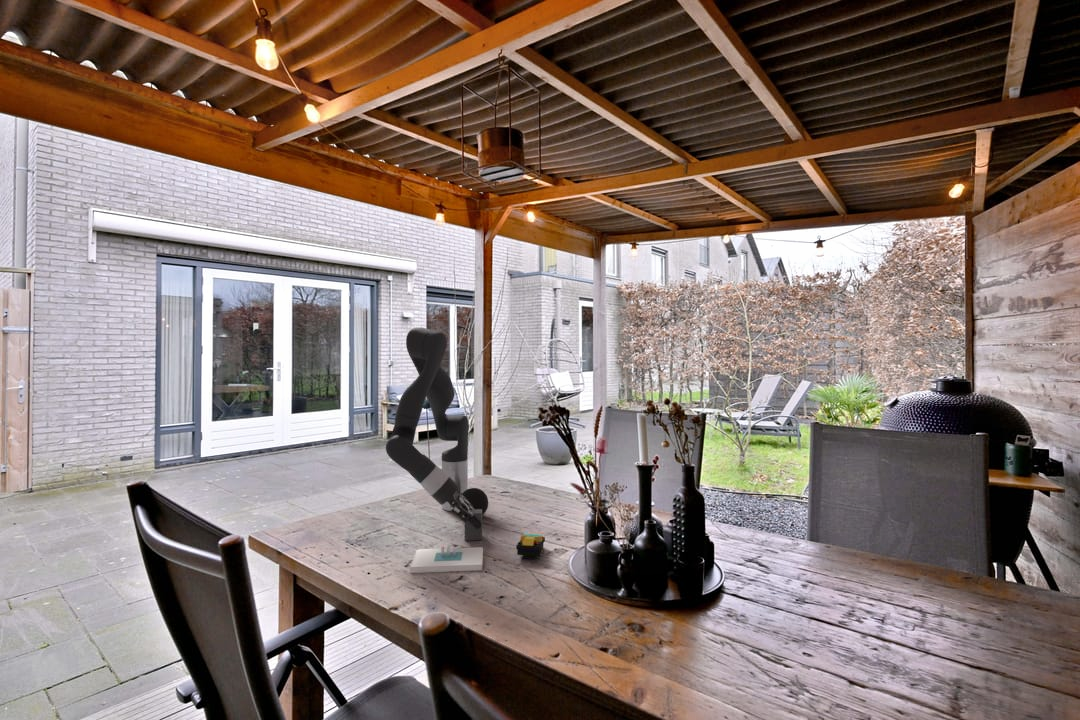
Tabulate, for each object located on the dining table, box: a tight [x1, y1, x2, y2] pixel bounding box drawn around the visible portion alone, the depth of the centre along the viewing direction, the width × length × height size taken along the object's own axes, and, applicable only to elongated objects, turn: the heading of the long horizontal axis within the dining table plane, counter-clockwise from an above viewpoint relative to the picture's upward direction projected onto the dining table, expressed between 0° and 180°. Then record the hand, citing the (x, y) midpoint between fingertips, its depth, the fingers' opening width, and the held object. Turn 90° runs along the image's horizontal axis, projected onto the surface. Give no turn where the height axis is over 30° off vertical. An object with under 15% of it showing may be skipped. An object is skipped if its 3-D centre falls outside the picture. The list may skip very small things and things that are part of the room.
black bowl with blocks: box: [515, 532, 546, 560], centre depth 146 cm, size 6×13×6 cm, turn 171°
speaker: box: [462, 487, 489, 516], centre depth 178 cm, size 10×10×10 cm
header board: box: [409, 546, 484, 574], centre depth 140 cm, size 18×12×4 cm, turn 95°
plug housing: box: [464, 509, 483, 541], centre depth 158 cm, size 5×4×8 cm
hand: (480, 524), depth 158 cm, fingers closed on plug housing, 4 cm apart
